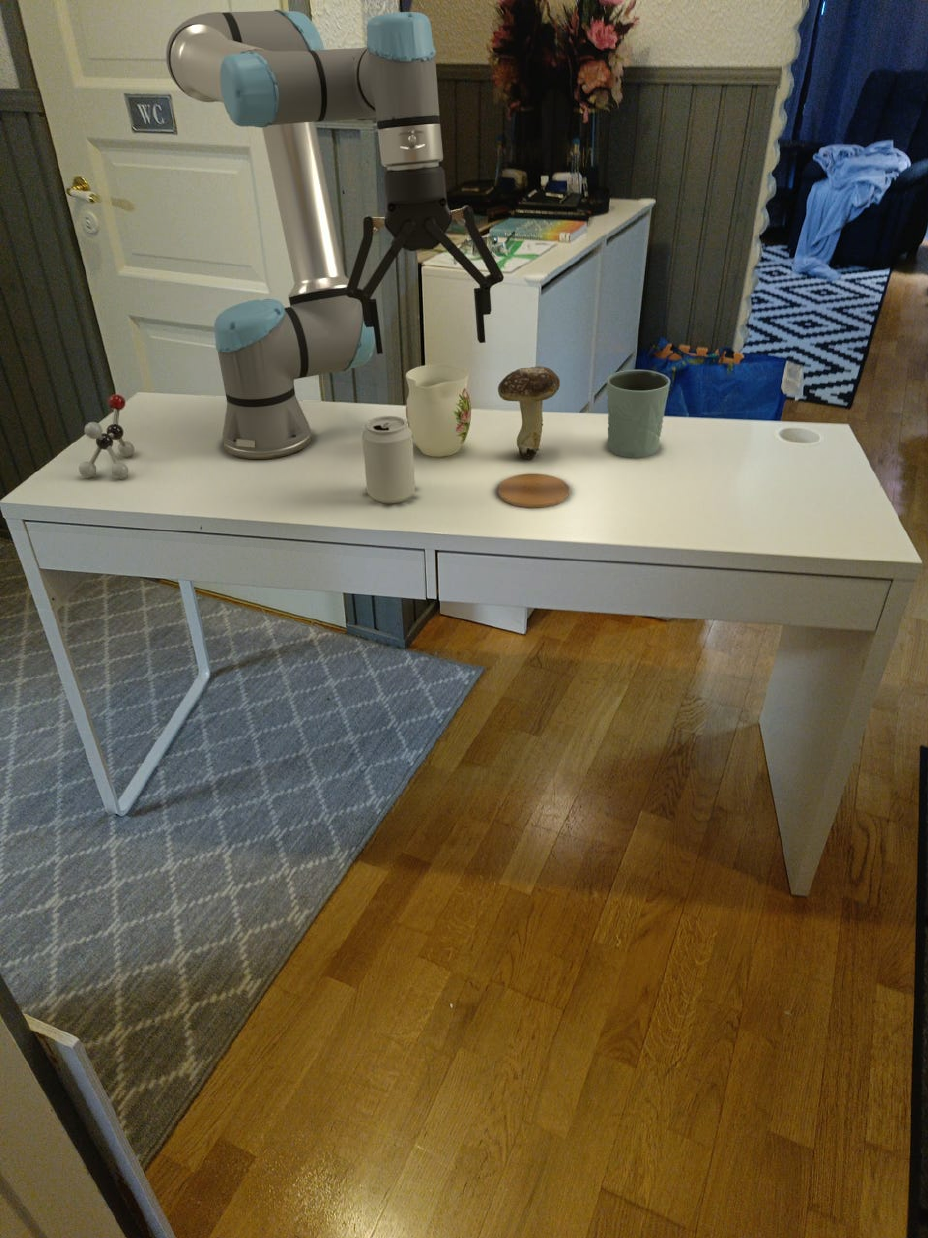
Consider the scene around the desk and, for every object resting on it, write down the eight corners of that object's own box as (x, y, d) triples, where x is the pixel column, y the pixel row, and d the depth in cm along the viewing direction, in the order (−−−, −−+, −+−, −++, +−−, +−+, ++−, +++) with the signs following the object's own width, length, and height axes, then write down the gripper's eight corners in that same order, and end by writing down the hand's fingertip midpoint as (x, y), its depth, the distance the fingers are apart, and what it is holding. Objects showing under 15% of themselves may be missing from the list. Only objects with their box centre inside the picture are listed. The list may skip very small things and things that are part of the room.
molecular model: (78, 480, 145) (60, 418, 139) (110, 450, 154) (94, 391, 148) (126, 481, 144) (109, 419, 138) (155, 451, 154) (141, 392, 148)
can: (357, 495, 138) (350, 422, 131) (393, 480, 142) (388, 408, 135) (389, 510, 133) (383, 436, 126) (425, 494, 138) (421, 421, 131)
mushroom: (566, 453, 149) (570, 366, 140) (540, 472, 143) (543, 382, 135) (518, 441, 153) (519, 356, 145) (491, 459, 148) (491, 371, 139)
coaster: (492, 479, 141) (492, 476, 141) (559, 473, 143) (559, 470, 142) (505, 510, 132) (505, 507, 132) (576, 504, 134) (576, 501, 133)
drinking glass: (670, 442, 152) (677, 374, 145) (651, 464, 145) (659, 393, 138) (614, 432, 156) (619, 365, 149) (593, 454, 149) (598, 384, 142)
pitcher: (484, 429, 158) (483, 353, 151) (458, 471, 144) (456, 389, 136) (426, 424, 161) (422, 349, 153) (395, 465, 147) (389, 385, 139)
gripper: (308, 177, 103) (336, 361, 113) (519, 157, 104) (528, 341, 114) (311, 176, 109) (337, 350, 119) (509, 157, 111) (519, 331, 121)
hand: (430, 346), depth 117 cm, fingers open, 13 cm apart
